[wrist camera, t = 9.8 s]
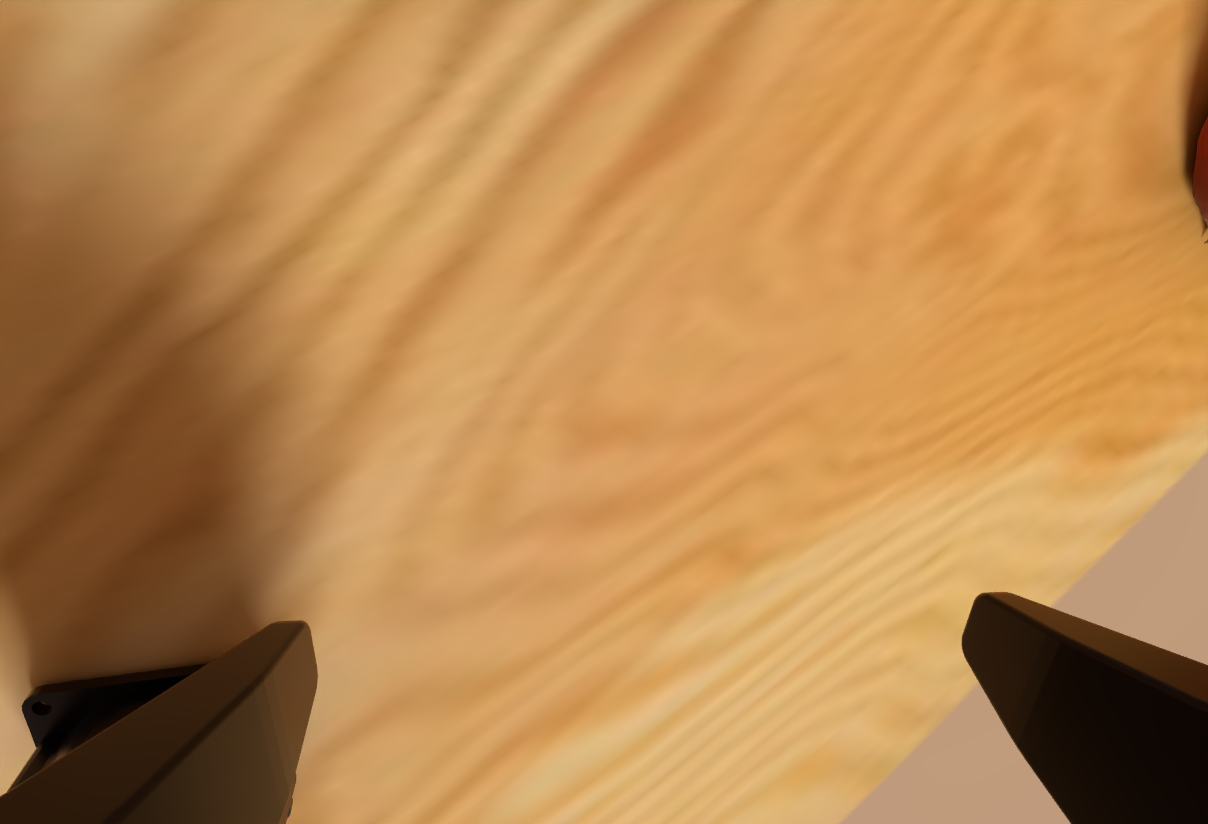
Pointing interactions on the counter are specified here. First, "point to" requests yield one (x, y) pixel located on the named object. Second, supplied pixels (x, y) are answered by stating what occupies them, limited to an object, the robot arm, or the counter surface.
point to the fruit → (1202, 173)
